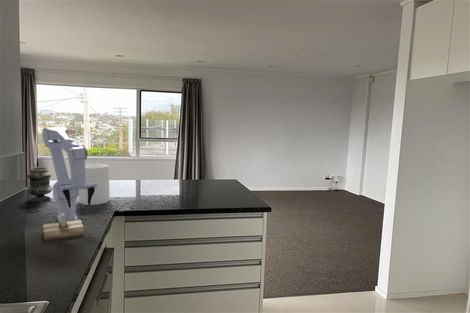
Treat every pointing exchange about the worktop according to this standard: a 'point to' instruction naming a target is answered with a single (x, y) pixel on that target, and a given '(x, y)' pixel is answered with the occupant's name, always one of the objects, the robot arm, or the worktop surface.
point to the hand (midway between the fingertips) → (79, 205)
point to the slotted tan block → (63, 230)
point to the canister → (101, 177)
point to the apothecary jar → (39, 183)
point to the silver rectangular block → (63, 220)
